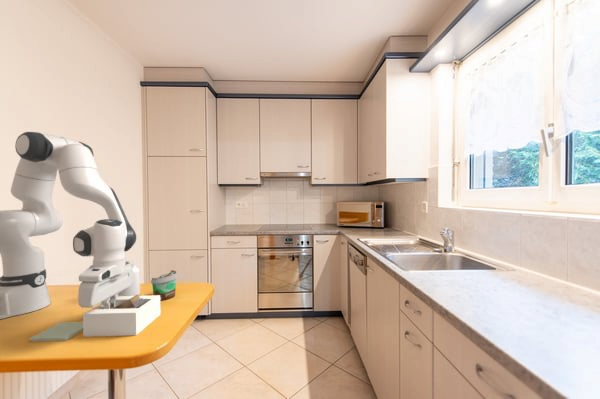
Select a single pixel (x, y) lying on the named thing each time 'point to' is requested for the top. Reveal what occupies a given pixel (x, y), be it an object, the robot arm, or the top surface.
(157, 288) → the food container
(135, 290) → the pill bottle
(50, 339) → the sage pad
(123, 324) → the pocket jig
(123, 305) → the walnut slab
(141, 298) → the cradle
